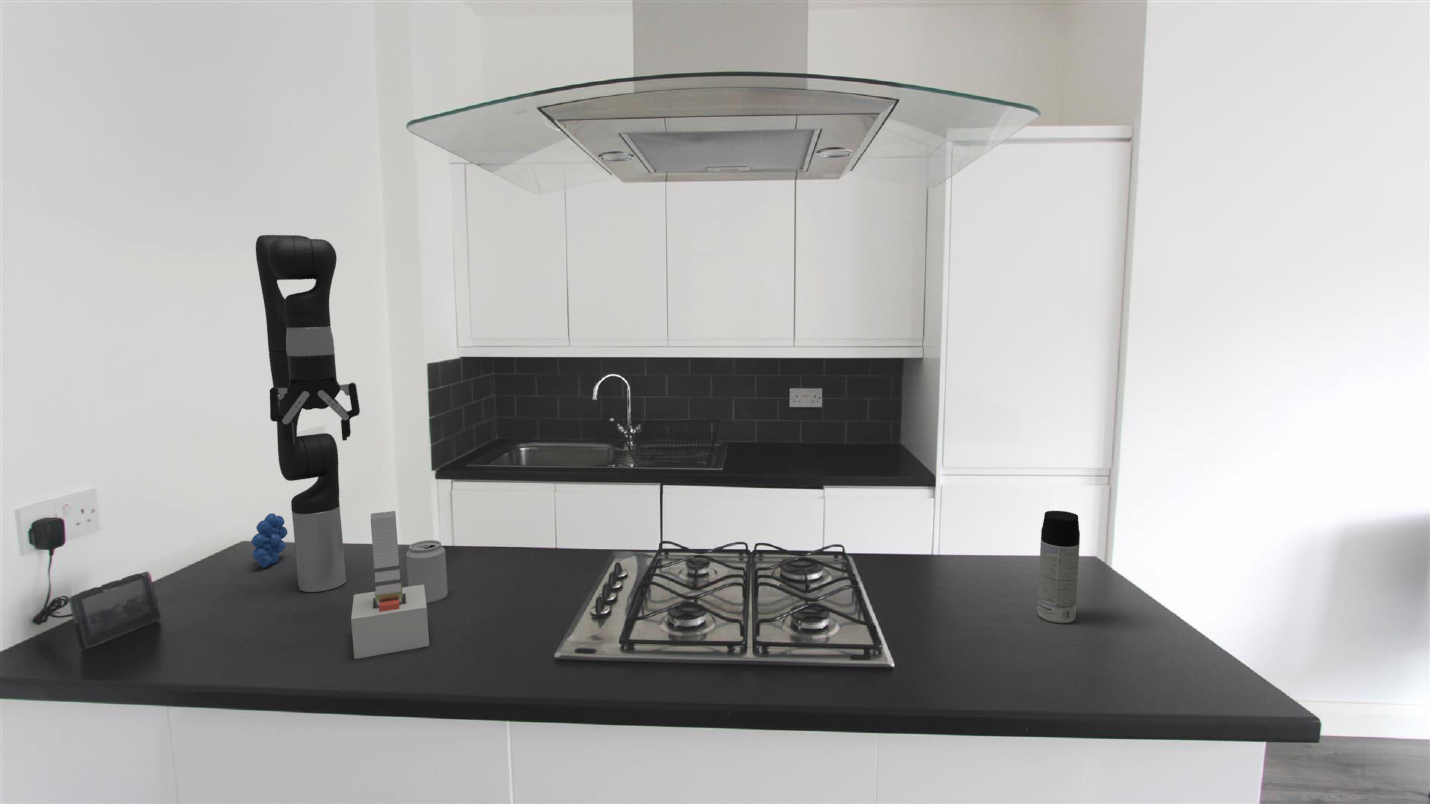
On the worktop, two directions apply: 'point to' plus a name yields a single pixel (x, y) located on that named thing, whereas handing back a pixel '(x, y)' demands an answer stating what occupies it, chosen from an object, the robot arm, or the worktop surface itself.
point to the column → (386, 557)
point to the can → (428, 568)
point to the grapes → (269, 540)
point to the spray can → (1058, 567)
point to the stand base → (389, 623)
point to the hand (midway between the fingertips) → (318, 442)
